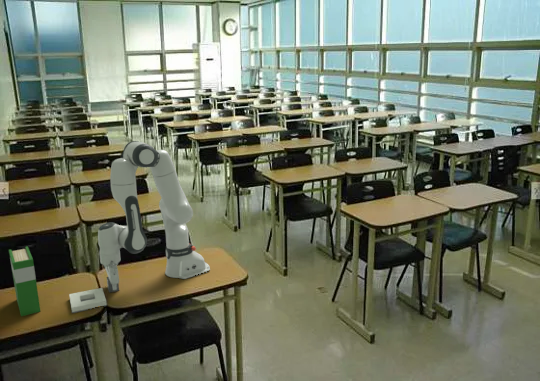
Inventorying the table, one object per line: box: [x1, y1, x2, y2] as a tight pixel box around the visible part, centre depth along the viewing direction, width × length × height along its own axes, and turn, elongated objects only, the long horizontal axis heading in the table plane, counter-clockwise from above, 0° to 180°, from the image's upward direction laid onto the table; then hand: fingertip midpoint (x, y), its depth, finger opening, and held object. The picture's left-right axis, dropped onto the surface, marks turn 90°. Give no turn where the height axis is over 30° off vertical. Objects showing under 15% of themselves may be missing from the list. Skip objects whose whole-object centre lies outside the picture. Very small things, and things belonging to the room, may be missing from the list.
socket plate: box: [68, 287, 108, 314], centre depth 207 cm, size 14×14×2 cm
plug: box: [106, 276, 120, 293], centre depth 218 cm, size 4×5×7 cm
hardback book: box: [8, 245, 41, 317], centre depth 202 cm, size 18×7×24 cm, turn 33°
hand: (113, 285), depth 219 cm, fingers open, 8 cm apart
